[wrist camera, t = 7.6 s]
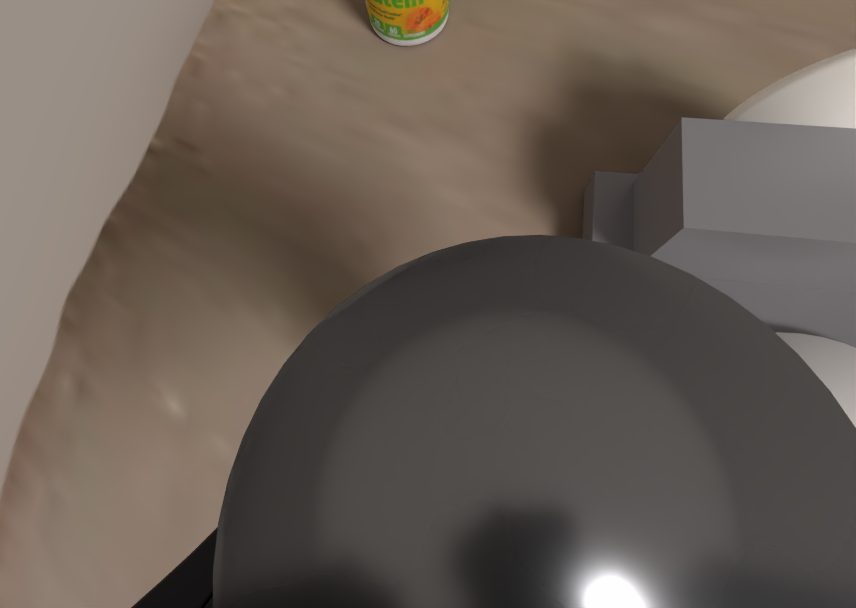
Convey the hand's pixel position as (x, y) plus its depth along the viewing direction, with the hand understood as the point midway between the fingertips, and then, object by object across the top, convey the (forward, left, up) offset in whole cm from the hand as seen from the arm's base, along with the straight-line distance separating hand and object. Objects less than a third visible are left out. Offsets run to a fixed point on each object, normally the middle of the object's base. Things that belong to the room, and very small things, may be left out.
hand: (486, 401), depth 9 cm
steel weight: (-1, 0, -7) cm, 7 cm away
